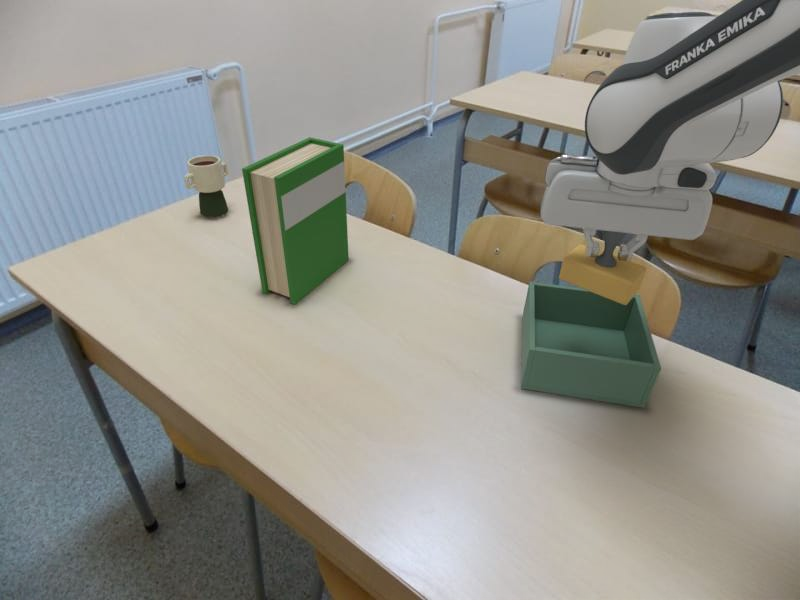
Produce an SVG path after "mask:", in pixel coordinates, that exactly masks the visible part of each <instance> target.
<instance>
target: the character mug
mask: <svg viewBox="0 0 800 600" xmlns="http://www.w3.org/2000/svg"><path fill="white" fill-rule="evenodd" d="M187 169H188V173H185V174H184V175H183V180H184V184H185V187H186V189H187V190H190V189H194V190H195V191H196V192H198V203H199V204H198V205H199V213H200V215H201V216H203V217H207V218H220V217H223V216H225V215H226V214H227V213H228V212H229V207H228V203H227V200H226V197H225V194H224V192H223V189H224V188H225V186H226V181H225V177H227V176H229V169H228V164H227V162H226V161H222V160H221V157H219V156H218V155H214V154H213V155H212V154H202V155H201V154H200V155H195V156H193V157H191V158H189V159H187Z"/></svg>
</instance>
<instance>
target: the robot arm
mask: <svg viewBox="0 0 800 600" xmlns="http://www.w3.org/2000/svg"><path fill="white" fill-rule="evenodd" d="M799 74H800V0H740V1H739V2H738V3H736V4H734V5H733V6H731V7H730V8H728V9H727V10H725V11H724V12H722V13H721V14H719V15H718V16H716V15H715V14H711V13H710V12H706V11H685V12H684V11H683V12H665V13H664V12H663V13H657V14H653V15H649V16H648V17H647V18H645V19H643V20H642V21H640V22H639V24H638V26H637V27H636V29H635V30H634V33H633V35H632V37H631V40H630V42H629V44H628V46H627V49H626V52H625V55H624V57H623V61H622V64H621V65H619V66H617V67H616V68H615V69H613V71H612V72H611V73H610V74H608V75H607V77H606V78H605V79H604V80H603V81H602V83H601V84H599V86H598V87H597V89H596V91H595V92H594V94H593V95H592V97H591V99H590V101H589V103H588V106H587V108H586V112H585V117H584V132H585V133H584V134H585V138H586V141H587V144H588V146H589V148H590V149H591V151H592V152H593V154H594V155H595V156H591V155H573V154H569V153H565V154H561V155H560V156H558V157H557V156H556V157H555V158H553V159H551V160H550V161H549V162H548V164H547V165H546V168H545V174H544V182H545V184H546V187H545V190H544V193H543V196H542V199H541V204H540V210H539V211H540V212H539V213H540V218H541V220H542V221H543V223H544V224H545V225H549V226H558V227H565V228H576V229H582V231H583V236H584V239H585V242H586V245H585V246H586V252H585V253H586V257H595V258H597V257H598V252H599V251H601V245H600V241H597V240H593V237H594V236H596V233H597V231H602V232H603V231H612V232H621V233H627V234H630V235H631V234H632V235H633V238H632V239H630V240H629V241H628V242H627V243H625V244H624V243H620V244H619V250H618V251H617V255H616V257H618V260H621V261H630V262H631V260H632V257H633V255H634V252H636V251H637V250H638V249H639V248H641V247H642V246H643V245H645V244H646V243H647V241H648V237H649V236H650V237H658V238H668V239H678V240H688V241H694V240H696V239H697V238H699V237H701V236H702V235H703V233H704V232H705V230H706V227H707V224H708V221H709V218H710V214H711V211H712V206H713V195H712V193H711V191H710V189H712V188H713V187H714V185H715V183H716V181H717V173H716V171H715V169H714V168H713V166H712V165H711V164H712V163H723V162H730V161H734V160H738V159H745V158H747V157H749V156H752V155H754V154H756V153H757V152H758V151H759V150H761V149H762V148H763V147H764V146H765V145H766V144H767V143H768V142H769V140H771V137H772V136H773V135H774V133H775V132H776V129H777V128H778V125H779V123H780V120H781V118H782V113H783V107H784V93H783V88H782V84H781V83H780V81H782V80H784V79H787V78H790V77H793V76H795V75H796V76H797V75H799Z"/></svg>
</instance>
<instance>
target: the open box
mask: <svg viewBox="0 0 800 600" xmlns="http://www.w3.org/2000/svg"><path fill="white" fill-rule="evenodd" d="M645 312H646V311H645V309H644V305H643V301H642V299H641V296H640V295H639V294H635V295H634V297H633V298H632V299H631V300H630V301H629V303H628V304H627V305H623V304H620V303H618V302H615V301H613V300H610V299H608V298H605V297H603V296H600V295H598V294H595V293H593V292H590V291H588V290H585V289H583V288H580V287H578V286H570V285H569V286H568V285H560V284H553V283H546V282H545V283H544V282H537V281H528V287H527V291H526V296H525V302H524V307H523V312H522V318H521V354H520V357H521V359H520V389H522V390H526V391H527V390H528V391H535V392H539V393H547V394H554V395H561V396H567V397H572V398H579V399H585V400H592V401H599V402H604V403H611V404H616V405H617V404H618V405H623V406H629V407H636V408H644V409H645V408H646V405H647V404H648V400H649V398H650V395H651V393H652V391H653V389H654V387H655V384H656V382H657V380H658V377H659V375H660V373H661V371H662V366H661V362H660V359H659V356H658V352H657V349H656V346H655V341H654V339H653V336H652V332H651V329H650V326H649V323H648V319H647V316H646V313H645Z"/></svg>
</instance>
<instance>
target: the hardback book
mask: <svg viewBox="0 0 800 600" xmlns="http://www.w3.org/2000/svg"><path fill="white" fill-rule="evenodd" d="M241 170H242V177H243V183H244V188H245V194H246V195H245V196H246V201H247V207H248V213H249V219H250V225H251V231H252V237H253V243H254V249H255V256H256V261H257V267H258V268H257V269H258V275H259V279H260V286H261V291H262V294H265V295H268V294H270V293H271V292H274V293H276V294H280V295H282V296H285V297H288V298H289V302H290V304H292V305H296V304H297V303H299V302H300V301H301V300H302V299H304V298H305V297H306V296H307V295H308V294H310V293H311V292H312V291H313V290H314V289H316V288H317V287H318V286H320V284H322V283H323V282H324V281H325V280H327V279H328V278H329V277H330V276H332V275H333V274H334V273H335V272H336V271H338V270H339V269H340V268H341V267H342V266H344V265H345V264H346V263H348V261H350V259H349V237H348V216H347V193H346V191H347V190H346V169H345V147H344V144H342V143H339V142H338V143H337V142H333V141H329V140H325V139H320V138H315V137H311V136H310V137H309V136H308V137H307V138H305V139H302V140H300V141H298V142H296V143H294V144H292V145H290V146H288V147H286V148H283V149H281V150H279V151H277V152H274V153H273V154H270V155H269V156H265V157H264V158H262V159H259V160H257V161H255V162H253V163H251V164H249V165H246V166H244V167H242V169H241Z"/></svg>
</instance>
